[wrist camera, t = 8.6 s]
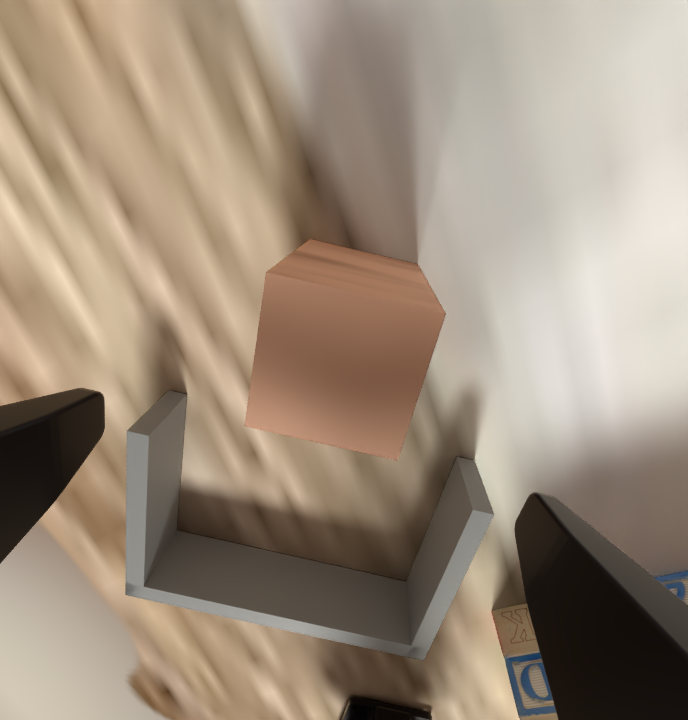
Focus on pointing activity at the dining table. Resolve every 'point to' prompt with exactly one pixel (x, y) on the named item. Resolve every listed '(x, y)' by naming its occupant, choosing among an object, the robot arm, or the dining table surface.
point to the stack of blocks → (527, 660)
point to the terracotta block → (342, 348)
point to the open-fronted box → (289, 557)
